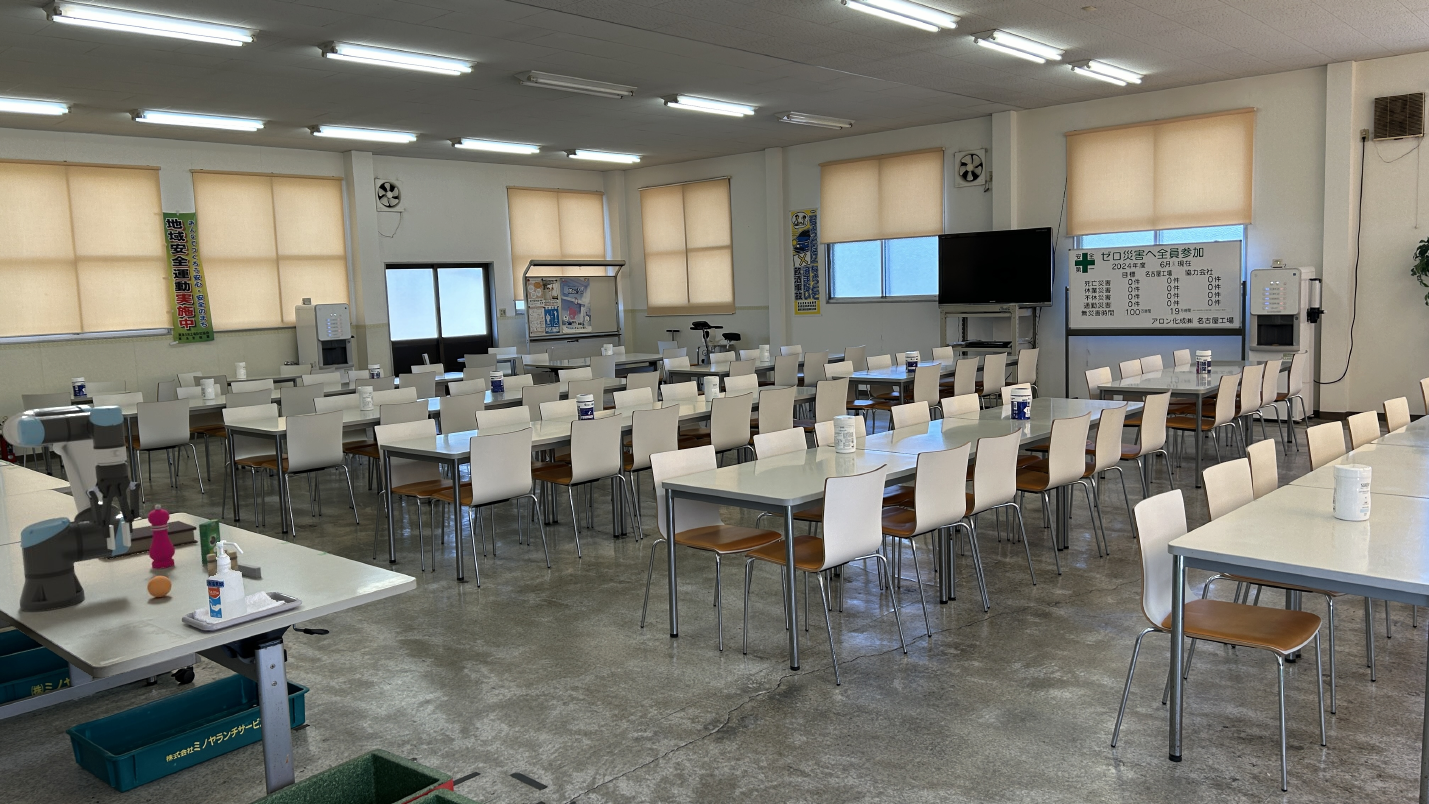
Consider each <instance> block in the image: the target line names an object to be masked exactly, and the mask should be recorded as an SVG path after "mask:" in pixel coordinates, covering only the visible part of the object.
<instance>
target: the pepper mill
mask: <svg viewBox="0 0 1429 804" xmlns="http://www.w3.org/2000/svg"><path fill="white" fill-rule="evenodd" d="M170 518H171V517H170V513H169V512H168V511H167V510H166V509H163V508H162V506H161V504H155V505H154V509H153V510H151V511H150V512H149V513H148V515H147V521H148V523H150V525H149V526H150V527H151V530H152V532H153V540H152V544H151V546H150V550H149V552H148V555H149V558H150V559H151V560H152V561H151V568H152V569H154V568H155V570H157V569H160V568H161V569H166V568H171V567H173V566H174V565H175V559H174V558H173V557H174V555H175V553H176V550H175V547H174V546H173V544H172V543H171V541H170V539H169V537H168V533H167V528H169V527H168V523H169V521H170Z"/></svg>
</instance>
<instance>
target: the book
mask: <svg viewBox="0 0 1429 804" xmlns="http://www.w3.org/2000/svg"><path fill="white" fill-rule="evenodd" d="M167 523H168V527H169V528H167V533H168V537H169V539H170V541H171V543H172V544H173V546H174V548H175V546H176V547H181V546H186V545H192V544H195V543H196V544H197V543H198V542H199V541H198V540H196V539H195V532H194V531H197V526H194V525H191V524H189V523H186V522H184V521H180V520H175V521H170V522H169V521H168V522H167ZM150 526H151V525H148V526H147V525H146V526H141V527H135V528H133V533H131V546H130V548H129V550H128V551H127V552H126V553H123V554H118V555H114V556H108V557H105V559H106V558H107V560H111V559H110V558H113V559H117V558H116V557H118V558H122V556H123V557H128V556H133V555H132V554H134V555H138V554H137V553H139V554H143V553H142V552H144V553H148V552H147V551H149V550H150V546H151V544H152V540H153V532H152V530H151V527H150Z"/></svg>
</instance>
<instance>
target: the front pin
mask: <svg viewBox="0 0 1429 804" xmlns="http://www.w3.org/2000/svg"><path fill="white" fill-rule="evenodd" d="M217 561H218V560H216V554H209V555H207V564H206V565H207V572H208V573H207V575H208V578H209V577H210V576H214V575H216V573H217V574H218V563H217Z"/></svg>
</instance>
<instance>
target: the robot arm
mask: <svg viewBox="0 0 1429 804" xmlns="http://www.w3.org/2000/svg"><path fill="white" fill-rule="evenodd" d="M124 420H125V419H124V416H123V410H122V407H121V406H119V405H103V406H95V407H91V406H90V405H85V404H83V405H81V404H79V405H77V404H72V405H70V406H58V407H56V406H55V407H42V408H33V409H32V408H31V409H25V410H22V411H19V412H16V413H13V414H12V415H9V416H8V417H7V418H6V419H5V420H4V422H3V423H2V426H1V435H2V436H3V439H4V440H5V441H6V442H7V443H8V444H10V445H13V446H14V447H23V448H44V447H45V448H46V447H52V450H53V452H54V453H56V454H57V455H59V456H61V460H62V462H63V467H64V470H65V473H66V477H67V480H68V483H69V486H70V490H71V494H72V496H73V497H72V498H73V501H74V504H75V507H76V511H77V514H75V516H74V518H73V521H71V520H70V519H69V517H67V516H63V517H62V516H60V517H57V518H56V517H55V518H49V519H44V520H41V521H38V522H35V523H31V524H29V525H28V526H25V527H24V528H23V529H22V530H21V532H20V549H21V556H22V563H23V564H22V565H23V573H24V575H23V576H24V584H23V586H22V591H21V594H20V599H19V609H20V610H21V611H22V612H23V611H25V612H41V611H50V610H57V609H61V608H62V609H63V608H66V607H69V606H73V605H75V604H79V603H81V602H82V601H84V600H85V598H86V597H85V590H84V587H83V586H82V584H81V582H80V580H79V579H78V576H77V574H76V572H75V570H76V569H75V563H79V562H84V561H91V560H96V559H103V558H104V557H108V556H114V555H118V554H123V553H126V552H127V551H128V550H129V548H130V546H131V533H133V529H134V528H133V523H134V521H135V520H136V519H138V518H139V517H140V497H139V496H140V493H139V491H140V488H141V486H142V484H141V483H140V482H135V481H131V479H130V478H129V466H128V462H126V461H127V460H128V458H127V448H126V446H127V445H126V437H125V436H126V435H125V425H124ZM128 488H129V500H128V495H127V490H128ZM114 498H117V501H118V504H119V507H118V506H117V505H115V504H113V500H114ZM128 501H129V502H128Z"/></svg>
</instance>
